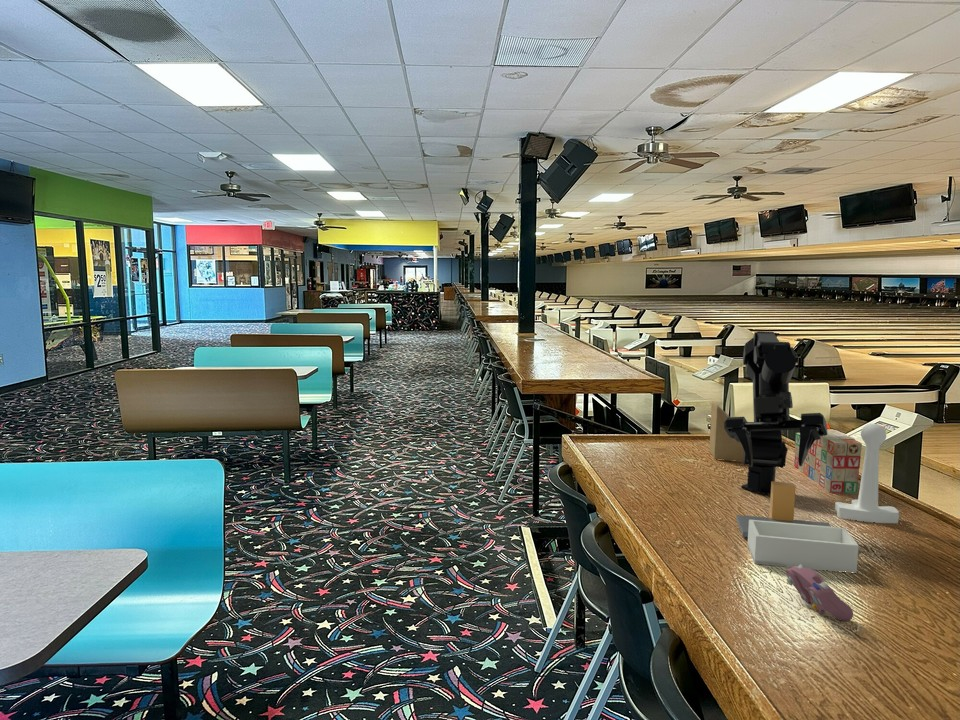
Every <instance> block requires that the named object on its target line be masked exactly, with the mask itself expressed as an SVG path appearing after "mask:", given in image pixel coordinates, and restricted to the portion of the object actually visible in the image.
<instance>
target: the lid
mask: <svg viewBox="0 0 960 720" xmlns="http://www.w3.org/2000/svg"><path fill="white" fill-rule="evenodd" d="M796 489H797V487H796V485H795V483H793V482H785V481H775V482H773V481H771V494H770V500H769V512H768V513H769V516H767V517H766V516H754V515H744V514H743V515H742V514H735V515H736V519H735V520H736V523H737V525H738V528H739V530H740V533H741V536H742V537H743V538H748V527H749V520H760V521H772V522H783V523H795V524H806V525H818V526H829V527H832V525H831V523H829V522H824V521H813V520H802V519H794V517H795V506H796V505H795V504H796V503H795V501H796Z"/></svg>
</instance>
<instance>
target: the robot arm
mask: <svg viewBox="0 0 960 720" xmlns="http://www.w3.org/2000/svg"><path fill="white" fill-rule="evenodd" d="M777 334H778V333H777V332H775V331H761V330H760V331H759V330H758V331H754V333H753V337H752V338H751V339H750V340H748V341H747V342H746V343H744V347H743V355H742V365H743V366H745V374H746V375H747V376H748V377H749V378H750V380H751V381H752V397H753V400H752V403H753V405H752V406H753V421H747V419H746V417H745V416H734V417H733V416H729V417H728V418H727V419H726V420H725V422H724V429H725V431H726V432H727V434H728V435H729V436H730V438H733V439H735V440H736V441H737V442H741V444H742V446H743V461H742V462H743V465H745V466H746V465H748V469H747V470H748V471H747V480H746V481H747V482H746V483H745V484H742V485H740V488H741V489H744V490H747V491H751V492H755V493H757V494H761V495H767V496H768V495H771V481H773V482H776V472H777V471H776V469H777V468H780V469H782V468H784V467H786V460H787V454H788V450H789V448H788V447H787V446H786V441H783V437H782V431H792V430H795V431H797V430H799V433H800V444H799V456H798V459H799V466H802V465H803V463H804V460H805V458H806V456H807V453H808V451H809V449H810V447H811V446H812V444H813V443H814V441H815V440H819V439H820V436H825V435H828V433H827V430H828V424H827V421H826V418H825V417H824V416H825V415H824V414H822V413H821V412H812V413H811V412H810V413H809V412H808V413H801V414H800V419H790V409H793V408H794V407H793V396H792V393H791V391H790V389H789V388H790V387H789V386H790V384H789V382H790V381H791V380H792V376H793V374H794V371H795V368H796V365H797V364H798V363H799V356H798V354H797V352H796V351H795V349H794V347H791V343H790V341H779V338H778V335H777Z"/></svg>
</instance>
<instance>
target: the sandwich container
mask: <svg viewBox="0 0 960 720" xmlns="http://www.w3.org/2000/svg"><path fill="white" fill-rule="evenodd" d="M710 409H711V410H710V428H709V430H710V432H709V450H708V452H709V451H710V452H711V454H712V455H713V457H714V458H713V457H712V458H713V460H714V459H724V460H723V461H725V460H736V461H735V462H743V446H742V444H741V442H737V441H736V440H735V439H733V438H730V436H729V435H728V434H727V432H726V431H725V429H724V422H725V420H726V419H727V418H728V417H730V415H729V414H728V413H727V412H726V411H725V410H723V408H721V407H720V405H718V404H717V403H716V402H715V401H714V400H713V401H711V408H710ZM710 452H709V453H710ZM711 454H710V455H711ZM712 455H711V456H712Z"/></svg>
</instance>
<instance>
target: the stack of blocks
mask: <svg viewBox="0 0 960 720" xmlns="http://www.w3.org/2000/svg"><path fill="white" fill-rule="evenodd" d="M827 433H828V435H825V436H820V439H819V440H815V441H814V443H813V444H812V446H811V447H810V449H809V451H808V453H807V456H806V458H805V460H804V463H803V465H802V466H799V459H798V456H799V444H800V432H795V437H794V438H795V440H794V441H795V442H794V444H795V447H794V463H793V467H794V468H796V469H798V471H800V472H801V474H804V475H805V476H806V477H808V478H809V479H811V480H812V481H813V482H815V483H816V484H817V485H819V487H821V488H823V489H824V490H825V491H826V492H828V493H830V494H854V495H856V494H858V488H859V487H858V486H859V474H860V468H861V458H862V457H861V455H862V447H863V443H862V442H860V441H858V440H856V439H855V438H854V437H852V436H850V435H847V434H845V433H843V432H841V431H839V430H837V429H827Z"/></svg>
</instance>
